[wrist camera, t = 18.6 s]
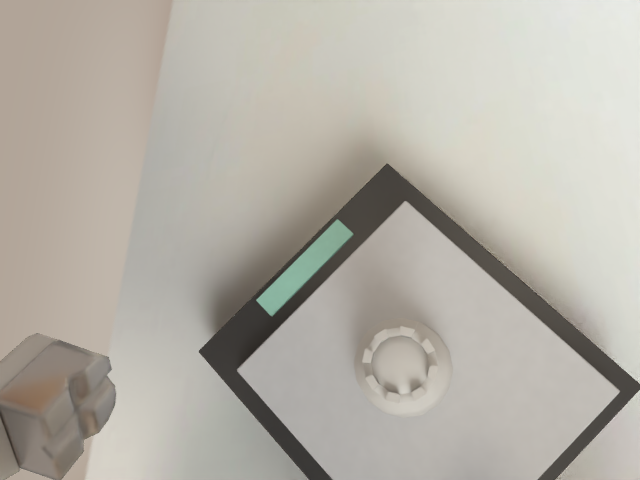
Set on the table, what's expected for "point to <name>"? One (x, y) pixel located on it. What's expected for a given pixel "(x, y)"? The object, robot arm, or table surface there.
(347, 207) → the kitchen scale
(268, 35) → the table surface
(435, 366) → the rook chess piece
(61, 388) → the robot arm
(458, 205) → the table surface
